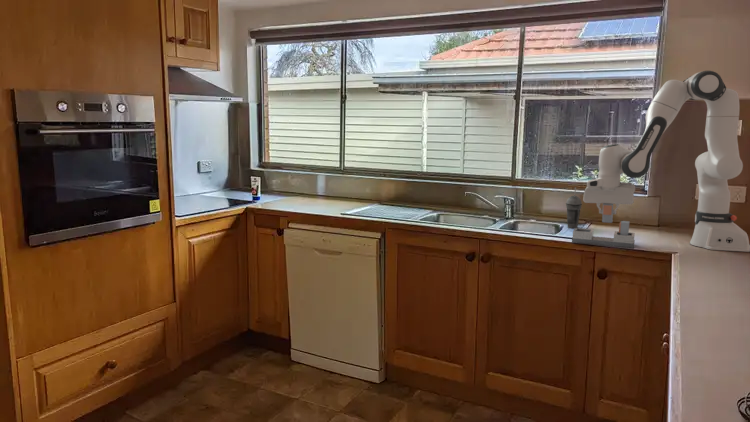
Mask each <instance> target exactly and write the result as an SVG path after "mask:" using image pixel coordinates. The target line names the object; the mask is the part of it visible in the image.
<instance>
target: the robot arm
mask: <svg viewBox="0 0 750 422" xmlns="http://www.w3.org/2000/svg"><path fill="white" fill-rule="evenodd" d="M689 100H690V101H704V102H705V104H706V109H707V111H706V120H705V129H704V139H705V141H706V145H707V146H706V147H707V151H705V152H703V153H701V154H699V155H698V156H697V157H696V158H695V162H694V167H695V169H696V174H697V175H696V176H697V184H698V200H697V209H696V211H695V215H694V224H695V225H694V230H693V233H692V237H691V238H690V241H689V244H690V245H692V246H695V247H700V248H704V249H707V250H710V251H711V250H712V251H725V252H726V251H727V252H729V251H730V252H744V253H745V252H747V253H750V241H749V236H748V234H747V232H746V231H745V230H743V228H741V227H740V226H739V225H737V224H736V223H734V222H735V221H737V219H738V217H737V215H734V214H732V213H731V212H730V206H731V205H730V204H731V195H732V194H731V191H730V188H729V184H728V180H731V179H734V178H736V177H737V178H738V176H739V175H741V173H742V171H743V167H744V164H743V160H742V159H741V156H740V150H739V142H738V133H739V131H738V130H739V121H740V119H739V118H740V108H741V107H740V97H739V93H738V91H736V90H735V89H732V88H727V85H726V84H725V82H724V81H723V78H722V77H721V75H720V74H719V73H718V72H716V71H714V70H702V71H698V72H696V73H693V74H692V75H690V76H689V77H687V78H686V79H684V80H683V81H682V80H679V79H669V80H667V81H665V82H664V84H663V85H662V86H661V87H660V88H659V90H658V91H657V93H656V94H655V96H654V97H653V99H652V101H650V104H649V106H648V108H647V110H646V113H645V129H644V132H643V134H642V136H641V138H640V140H639V142H638V143H637V145H636V146H635V148H634V150H633V151H632V150H630V149H628V148H626V147H624V146H622V145H620V144H618V143H614V144H608V145H604V146H603V147H601V149H600V151H599V156H598V170H599V171H598V175H597V178H594V179H590V180H587V182H586V188H585V189H584V192H583V198H582V201H583V202H584V203H585V204H588V203H589V204H596V207H597V209H598V214H601V215H602V212H603V208H601V204H603V203H607V204H613V205H614V204H615V208H614V209H613V215H617V210H618V209H619V208H620V205H633V204H634V203H635V200H634V198H635V197H634V193H635V192H636V185H635V184H634V183H632V182H621V174H624V175H625V176H627V177H629V178H632V179H638V178H642V177H643V176H645V175H646V174H647V172H648V171H649V169H650V162H651V156H652V154H653V152H654V150H655V148H656V147H657V146H658V143H659V140H660V139H661V137H662V135H664V133H665V131H666V130H668V127H669V126H670V125H672V123H673V122H674V120H675V119H676V117H677V116H678V114H679V112H680V110H681V109H682V107H683V105H684V104H685V103H686V102H687V101H689Z"/></svg>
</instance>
